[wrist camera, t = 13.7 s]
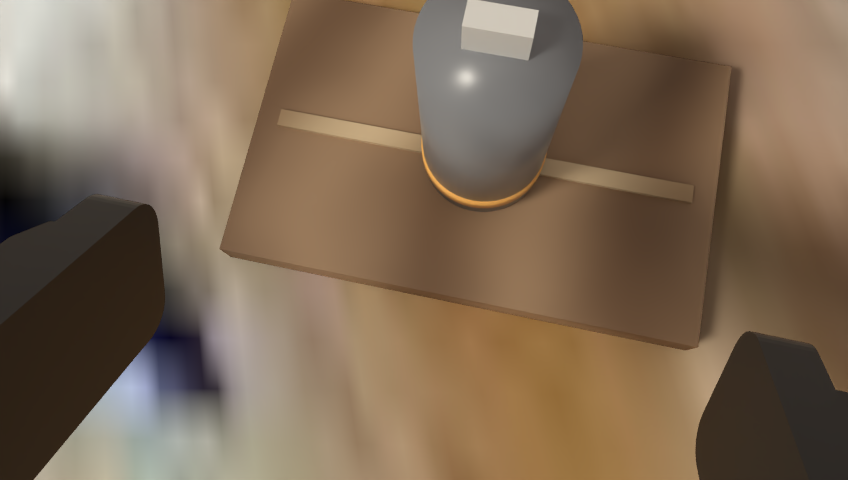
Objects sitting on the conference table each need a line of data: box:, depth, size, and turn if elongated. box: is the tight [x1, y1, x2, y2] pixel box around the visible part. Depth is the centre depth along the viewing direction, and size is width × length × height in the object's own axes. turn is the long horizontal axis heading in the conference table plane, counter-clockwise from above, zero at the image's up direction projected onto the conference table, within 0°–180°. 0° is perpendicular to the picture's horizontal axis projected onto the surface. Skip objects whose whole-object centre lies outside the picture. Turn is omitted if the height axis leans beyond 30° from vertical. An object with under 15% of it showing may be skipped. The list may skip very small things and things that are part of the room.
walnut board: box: [220, 0, 731, 350], centre depth 24 cm, size 16×10×1 cm, turn 78°
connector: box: [413, 0, 583, 212], centre depth 19 cm, size 4×4×9 cm
